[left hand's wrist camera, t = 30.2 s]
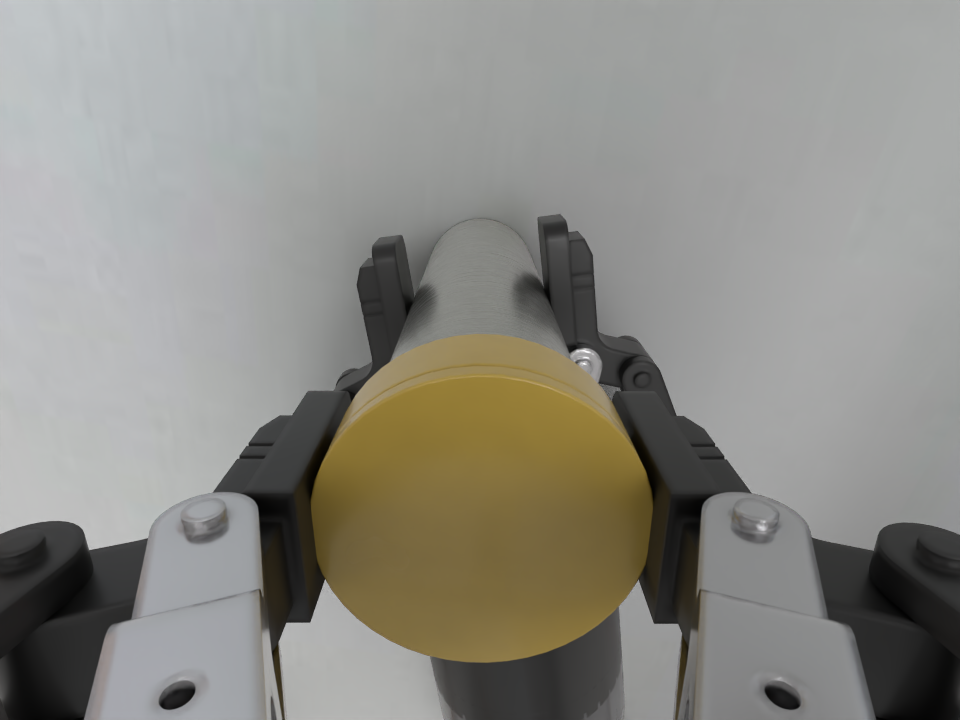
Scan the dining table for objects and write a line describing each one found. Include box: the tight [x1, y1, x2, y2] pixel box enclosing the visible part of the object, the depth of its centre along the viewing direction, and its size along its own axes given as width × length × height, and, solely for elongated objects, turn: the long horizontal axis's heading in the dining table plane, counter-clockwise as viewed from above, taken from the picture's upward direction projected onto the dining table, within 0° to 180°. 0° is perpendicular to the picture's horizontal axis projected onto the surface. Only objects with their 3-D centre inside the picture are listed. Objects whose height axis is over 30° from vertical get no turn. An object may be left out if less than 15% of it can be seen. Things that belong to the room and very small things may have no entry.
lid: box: [310, 334, 653, 663], centre depth 10 cm, size 5×5×2 cm
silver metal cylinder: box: [390, 219, 572, 362], centre depth 18 cm, size 4×4×16 cm
